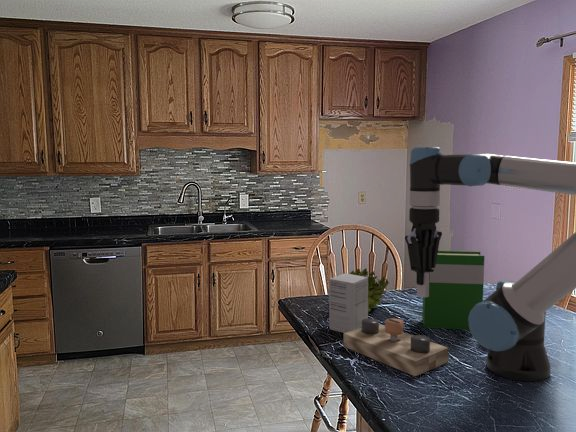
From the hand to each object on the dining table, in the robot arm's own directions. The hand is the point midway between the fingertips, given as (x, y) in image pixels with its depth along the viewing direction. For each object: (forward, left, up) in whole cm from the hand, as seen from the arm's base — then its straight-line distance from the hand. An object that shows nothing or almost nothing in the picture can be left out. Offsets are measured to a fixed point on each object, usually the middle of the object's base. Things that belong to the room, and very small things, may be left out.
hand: (422, 295), depth 135 cm
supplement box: (+32, -4, -19) cm, 37 cm away
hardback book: (+13, -32, -19) cm, 40 cm away
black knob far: (+18, +1, -19) cm, 26 cm away
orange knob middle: (+9, +1, -16) cm, 18 cm away
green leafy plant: (+43, -24, -19) cm, 53 cm away
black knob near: (0, +1, -19) cm, 19 cm away
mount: (+9, +1, -19) cm, 21 cm away
